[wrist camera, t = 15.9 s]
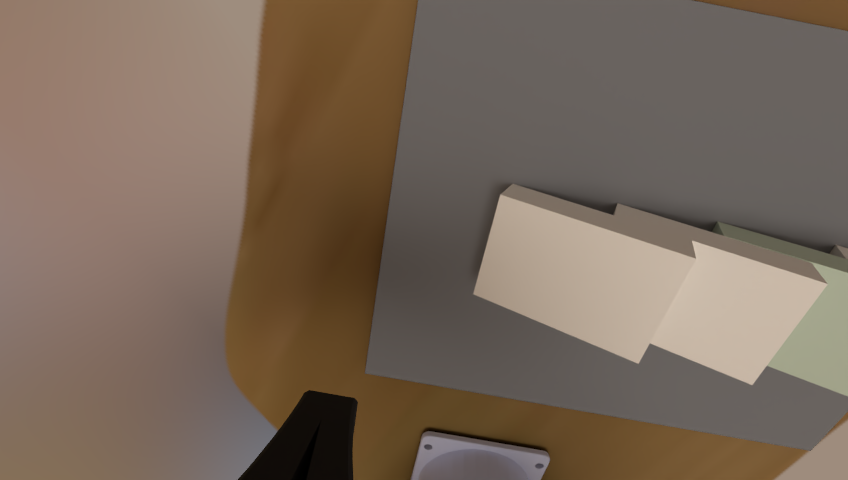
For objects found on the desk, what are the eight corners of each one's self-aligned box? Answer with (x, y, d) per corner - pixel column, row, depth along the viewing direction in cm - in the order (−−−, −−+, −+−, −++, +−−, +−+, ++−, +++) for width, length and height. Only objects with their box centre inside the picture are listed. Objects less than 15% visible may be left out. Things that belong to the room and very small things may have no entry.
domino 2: (617, 203, 18) (811, 263, 16) (579, 293, 20) (744, 358, 18) (614, 215, 16) (828, 283, 14) (573, 312, 19) (752, 385, 16)
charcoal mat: (805, 444, 24) (810, 450, 24) (366, 368, 24) (365, 373, 23) (1131, 88, 15) (1147, 90, 15) (426, -51, 15) (425, -53, 14)
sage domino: (717, 221, 18) (923, 281, 16) (668, 309, 20) (843, 373, 18) (724, 235, 16) (952, 304, 14) (670, 329, 19) (861, 401, 16)
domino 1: (512, 183, 18) (691, 240, 15) (486, 277, 20) (639, 338, 18) (500, 194, 16) (696, 258, 14) (473, 294, 18) (638, 363, 16)
